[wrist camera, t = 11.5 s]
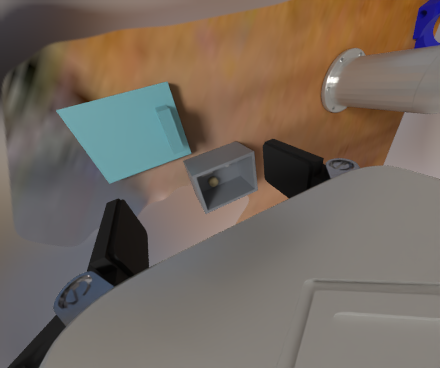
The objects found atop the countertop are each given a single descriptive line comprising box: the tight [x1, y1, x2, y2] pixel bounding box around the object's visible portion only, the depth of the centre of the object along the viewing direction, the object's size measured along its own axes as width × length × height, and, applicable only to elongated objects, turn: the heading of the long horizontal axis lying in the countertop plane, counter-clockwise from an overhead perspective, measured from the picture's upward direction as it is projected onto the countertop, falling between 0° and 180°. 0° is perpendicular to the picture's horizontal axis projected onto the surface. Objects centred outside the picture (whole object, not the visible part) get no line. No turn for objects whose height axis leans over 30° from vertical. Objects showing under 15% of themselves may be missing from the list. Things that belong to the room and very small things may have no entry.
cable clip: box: [413, 0, 440, 49], centre depth 39 cm, size 12×4×6 cm, turn 30°
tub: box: [183, 142, 258, 214], centre depth 34 cm, size 12×9×7 cm
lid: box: [56, 82, 191, 183], centre depth 25 cm, size 15×12×7 cm
